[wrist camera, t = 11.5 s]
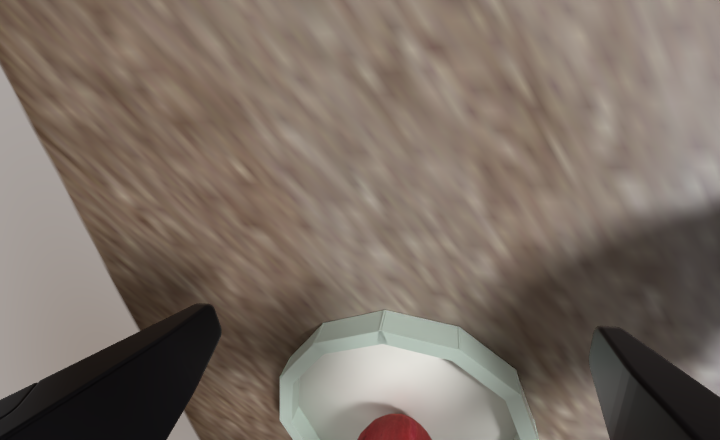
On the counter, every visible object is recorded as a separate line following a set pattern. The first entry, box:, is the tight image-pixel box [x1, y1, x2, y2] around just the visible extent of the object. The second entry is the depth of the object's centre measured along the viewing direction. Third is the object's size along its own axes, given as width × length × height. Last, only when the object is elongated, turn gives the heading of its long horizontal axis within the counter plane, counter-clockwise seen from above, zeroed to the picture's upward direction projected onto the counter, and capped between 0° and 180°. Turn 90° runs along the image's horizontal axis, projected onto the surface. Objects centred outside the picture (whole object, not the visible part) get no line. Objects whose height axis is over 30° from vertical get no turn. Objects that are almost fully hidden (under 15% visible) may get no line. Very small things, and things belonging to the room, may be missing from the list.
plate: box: [279, 310, 539, 440], centre depth 26 cm, size 18×18×2 cm
